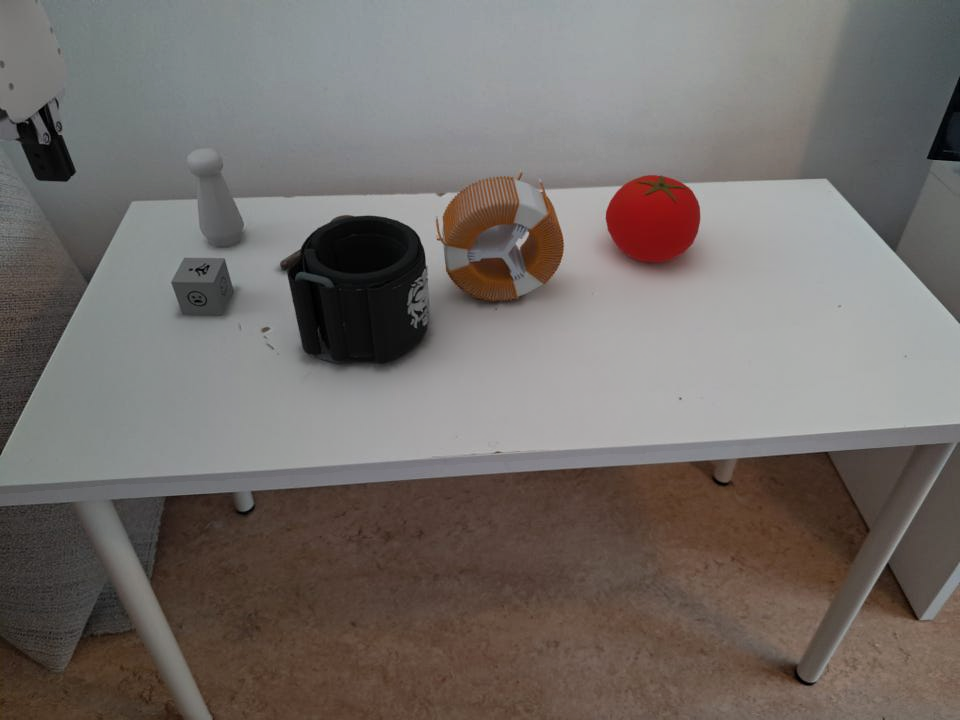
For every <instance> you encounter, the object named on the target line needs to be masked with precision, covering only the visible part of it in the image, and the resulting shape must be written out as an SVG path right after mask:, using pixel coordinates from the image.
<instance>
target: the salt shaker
mask: <svg viewBox="0 0 960 720" xmlns="http://www.w3.org/2000/svg"><path fill="white" fill-rule="evenodd" d="M186 164H187V167H188V170H189V172H190V173H191V175H194V176H195V177H194V178H195V189H196V191H195V192H196V200H197V202H196V203H197V214H198V215H197V216H198V226H199V229H200V232H201V234H202V236H203V237H205V238H206V239H207V240H208V241H209V242H210V243H211V244H212V245H213V246H214V247H215V248H230V247H232V246H234V245H236V244H238V243H240V241H241V236H242V233H243V230H244V226H245V222H244V220H243V217H242V214H241V212H240V210H239V208H238V206H237V204H236V201H235V199H234V197H233V195H232V193H231V190H230V188H229V187H228V184H227V182H226V179H225V178H224V176H223V173H222V172H221V171H222V170H223V168H224V162H223V158H222V156H221V155H220V152H219V151H217V150H216V149H213V148H208V147H207V148H206V147H205V148H199V149H195V150H193V151H192V152H190V153H189V154H188V156H187V158H186Z"/></svg>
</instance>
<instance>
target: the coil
mask: <svg viewBox="0 0 960 720" xmlns="http://www.w3.org/2000/svg"><path fill="white" fill-rule="evenodd" d="M519 172H520V173H519V175H518V176H517V179H515V178H514V177H513V176H509V175H508V176H502V175H500V176H498V175H497V176H492V177H490V176H489V178H487V177H486V178H485V179H484V178H482V179H481V180H478V181H474V182H472V183H471V184H468V186H465V187H464V188H462V190H460V191H459V192H458V193H457V194H456V195H455V196H454V197H453V198H452V199H451V200H450V201H449V203H448V204H447V206H445V207H446V209H444V212H443V215H442V229H441V230H442V231H441V232H440V224H439V218H438V217H439V216H438V215H435V225H436V232H437V234H436V241H440V242H441V244H442V245H443V254H444V264H445V272H446V274H447V276H448V277H449V279H450V281H452V283H453V284H454V285H455V286H456V287H457V288H459V290H461V291H462V292H464V293H465V294H468V295H469V296H470V297H473V298H476V299H479V300H483V301H485V300H486V301H487V302H488V301H489V302H502V301H503V302H505V301H507V302H508V301H509V300H510V301H512V300H519V299H520V297H521V296H523V295H527V294H529V293H531V292H533V291H534V290H536V289H537V288H539V287H540V286H542V285H546V284H547V283H548V282H549V281H550V280H551V279H552V277H554V275H555V274H556V272H557V270H558V269H559V267H560V265H561V263H562V260H563V256H564V250H565V241H564V235H563V231H562V228H561V225H560V222H559V219H558V215H557V213H556V210H555V207H554V205H553V203H552V202H551V199H550V197H549V196H548V195H547V193H546V190H545V188H544V187H545V186H544V184H543V181H542V179H541V178H539V179H538V181H539V184H540V187H541V190H542V191H540V190H539V189H537V188H536V187H535V186H533V185H531V184H530V183H527V182H525V181H522V180H521V178H522V176H523V170H522V168H519ZM527 233H528V235H527V237H526V239H525V241H524V242H523V243H522V244H521V245H520V247H518V245H517V242H518V241H519V240H522V239H523V238H524V236H525V235H526V234H527Z"/></svg>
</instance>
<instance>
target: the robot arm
mask: <svg viewBox="0 0 960 720" xmlns="http://www.w3.org/2000/svg"><path fill="white" fill-rule="evenodd" d="M69 79H70V78H69V72H68V68H67V65H66V61H65V58H64V56H63V53H62V51H61V47H60V45H59V42H58V39H57V35H56V34H55V32H54V29H53V27H52V24H51V22H50V20H49V18H48V15H47V13H46V11H45V8H44V7H43V4H42V2H41V0H0V142H12V141H14V143H16V144H17V145H21V148H22V151H23V152H24V154H25V158H26V159H27V163H28V164H29V167H30V169H31V171H32V173H33V176H34V178H35V179H36V180H37V181H39V182H58V183H59V182H60V183H61V182H62V183H67V182H68V181H70V179H71V178H72V177H73V176H74V175H76V173H77V170H76V168H75V165H74V162H73V159H72V157H71V154H70V152H69V149H68V146H67V144H66V142H65V138H64V137H63V135H62V133H63V131H64V126H63V125H64V124H63V122H62V118H61V116H60V112H59V108H60V103H61V101H62V100H63V98H64V96H65V94H66V88H65V87H66V86H67V85H68V82H69Z"/></svg>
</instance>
